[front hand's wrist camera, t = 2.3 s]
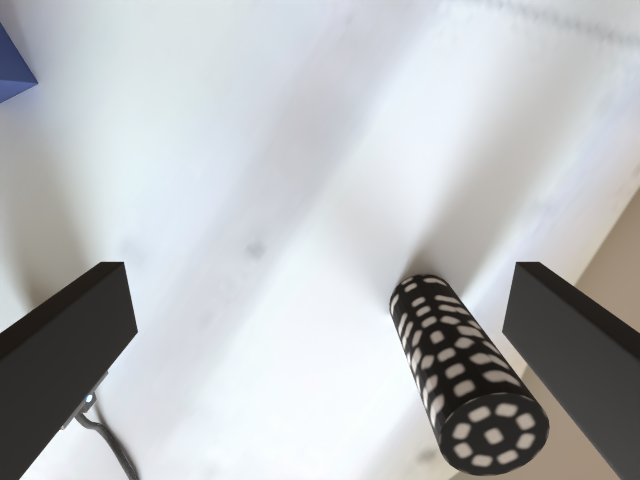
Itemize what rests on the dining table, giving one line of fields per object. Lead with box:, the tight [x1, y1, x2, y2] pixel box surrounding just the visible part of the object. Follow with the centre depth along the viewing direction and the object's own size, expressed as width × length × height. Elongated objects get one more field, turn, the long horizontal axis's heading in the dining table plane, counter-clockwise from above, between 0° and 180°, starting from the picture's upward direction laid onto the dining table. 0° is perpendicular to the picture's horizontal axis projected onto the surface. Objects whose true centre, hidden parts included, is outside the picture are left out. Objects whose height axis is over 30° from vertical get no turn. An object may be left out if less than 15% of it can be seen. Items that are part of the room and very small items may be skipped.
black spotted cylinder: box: [389, 275, 549, 476], centre depth 37 cm, size 8×8×20 cm
